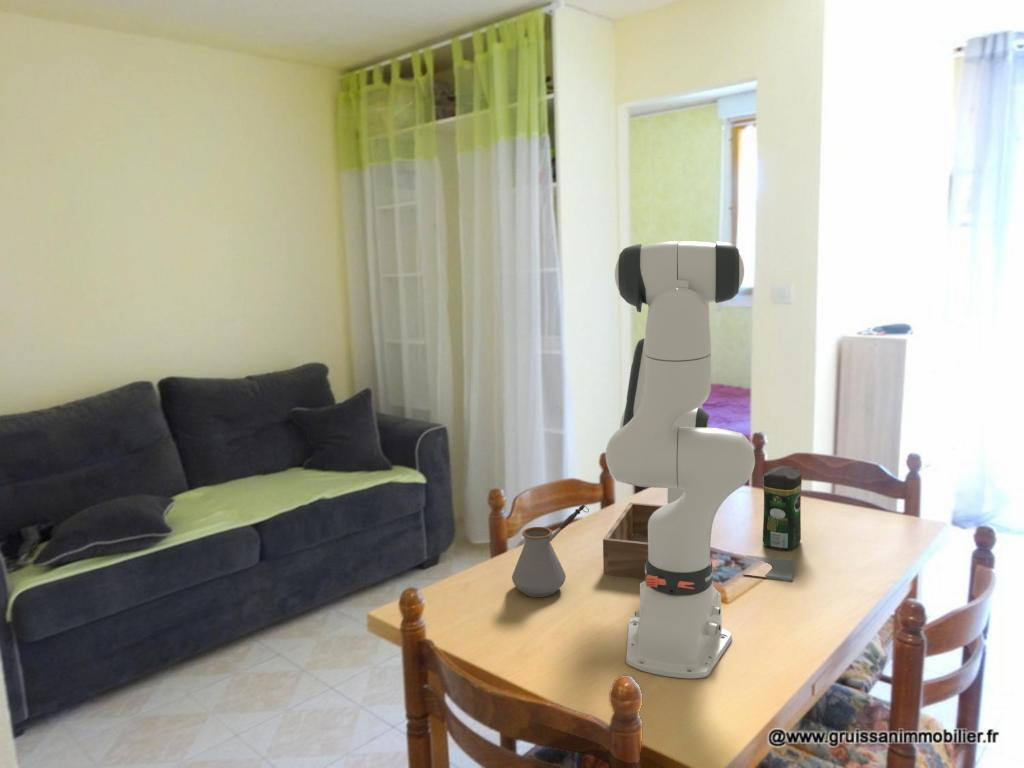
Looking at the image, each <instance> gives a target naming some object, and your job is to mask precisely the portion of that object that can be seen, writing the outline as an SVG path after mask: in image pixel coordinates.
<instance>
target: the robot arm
mask: <svg viewBox="0 0 1024 768" xmlns="http://www.w3.org/2000/svg"><path fill="white" fill-rule="evenodd" d="M739 251H740V249H738V248H737V247H736V246H735V245H734V244H733V243H730V242H727V241H726V242H725V241H724V242H723V241H715V242H714V243H713V242H704V241H678V240H672V241H662V242H655V243H649V244H643V245H642V244H641V243H638V244H634V245H631V246H626V247H625V248H623V249H622V251H621V252H620V253H619V255H618V259H617V262H616V264H615V268H614V279H615V285H616V288H617V290H618V292H619V295H620V297H621V298H622V299H623V300H624V301H625V302H626V303H628V304H629V305H631V306H634V307H635V308H636V312H638V313H640V314H641V312H642V306H643V304H645V305H646V306H648V311H647V318H646V324H645V333H644V334H645V337H643V338H640V339H639V340H638V341H637V343H636V346H635V348H634V352H633V356H632V358H633V359H632V363H631V368H630V373H629V380H628V386H627V393H626V402H625V403H626V404H625V408H624V411H623V414H622V416H621V420H620V425H619V429H618V430H617V431H615V432H614V434H613V435H612V436H611V438H610V439H609V441H608V442H607V446H606V449H605V462H606V463H605V464H606V466H607V469H608V471H609V473H610V475H611V476H612V477H613V478H614V479H615V480H616V482H620V483H622V484H627V485H630V486H631V485H632V486H634V487H635V486H636V487H640V488H657V489H661V488H662V489H667V504H665V505H664V506H662V507H661V508H659V509H657V510H656V511H655V512H654V513H653V514H652V515H651V517H650V519H649V522H648V536H647V543H648V556H647V558H646V564H645V579H644V580H643V581H642V582H640V583H639V602H640V603H639V604H640V605H639V609H635V611H634V615H635V616H633V617H630V618H629V619H628V624H627V626H628V627H627V640H626V654H625V663H626V664H628V665H629V666H630V667H632V668H635V669H637V670H640V671H642V672H645V673H649V674H654V675H659V676H664V677H671V678H676V679H702V678H707V677H708V676H709V675H710V673H712V671H713V669H714V668H715V666H716V665H717V663H718V661H719V660H720V658H721V657H722V655H723V654H724V653H725V651H726V649H728V646H730V644H731V643H732V641H733V638H732V636H733V635H732V633H731V632H730V631H729V630H727V629H725V628H723V621H722V620H723V619H722V618H723V617H722V594H721V592H719V591H718V590H717V589H716V587H714V585H713V578H714V576H713V575H714V567H713V561H712V559H711V539H712V532H713V531H712V530H713V529H712V528H713V523H714V520H715V517H716V515H717V512H718V511H719V509H720V507H721V506H722V504H723V503H724V501H726V499H727V498H728V497H729V496H731V494H733V493H734V492H735V491H737V490H738V489H740V488H742V487H743V486H744V485H745V484H746V483H747V482H748V481H749V480H750V478H751V477H752V474H753V472H754V471H755V470H754V468H755V466H756V465H755V464H756V456H755V452H754V448H753V446H752V444H751V442H750V441H749V439H748V437H746V436H745V434H744V433H742V432H738V431H734V430H729V429H725V428H719V427H709V418H710V414H709V413H707V411H705V410H704V407H703V404H704V403H706V401H707V400H708V399H709V397H710V395H711V389H712V339H711V328H710V303H712V302H715V303H716V304H718V303H723V302H726V301H727V302H728V301H730V300H732V299H733V298H734V297H736V296H737V295H738V294H739V291H740V288H741V287H742V285H743V282H744V276H745V265H744V261H743V258H742V256H741V254H740V252H739Z"/></svg>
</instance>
